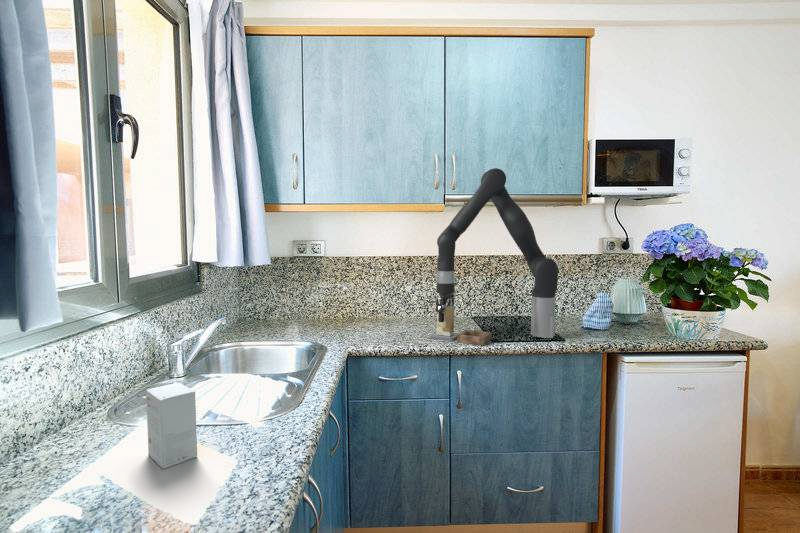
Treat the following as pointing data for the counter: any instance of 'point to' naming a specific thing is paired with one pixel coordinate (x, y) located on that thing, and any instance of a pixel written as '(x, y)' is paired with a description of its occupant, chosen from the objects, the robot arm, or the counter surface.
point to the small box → (171, 424)
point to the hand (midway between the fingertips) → (445, 320)
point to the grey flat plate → (444, 337)
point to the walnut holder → (474, 337)
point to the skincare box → (446, 322)
